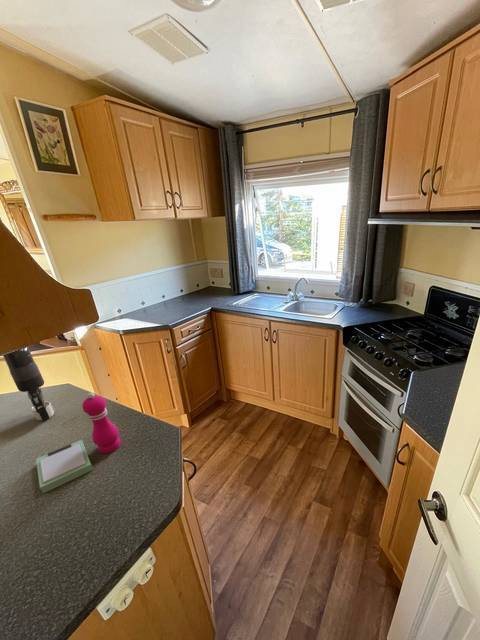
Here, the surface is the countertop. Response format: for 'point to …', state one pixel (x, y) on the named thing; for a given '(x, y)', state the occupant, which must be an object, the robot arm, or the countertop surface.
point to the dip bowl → (48, 409)
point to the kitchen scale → (62, 466)
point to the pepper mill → (101, 424)
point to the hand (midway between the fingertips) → (44, 414)
